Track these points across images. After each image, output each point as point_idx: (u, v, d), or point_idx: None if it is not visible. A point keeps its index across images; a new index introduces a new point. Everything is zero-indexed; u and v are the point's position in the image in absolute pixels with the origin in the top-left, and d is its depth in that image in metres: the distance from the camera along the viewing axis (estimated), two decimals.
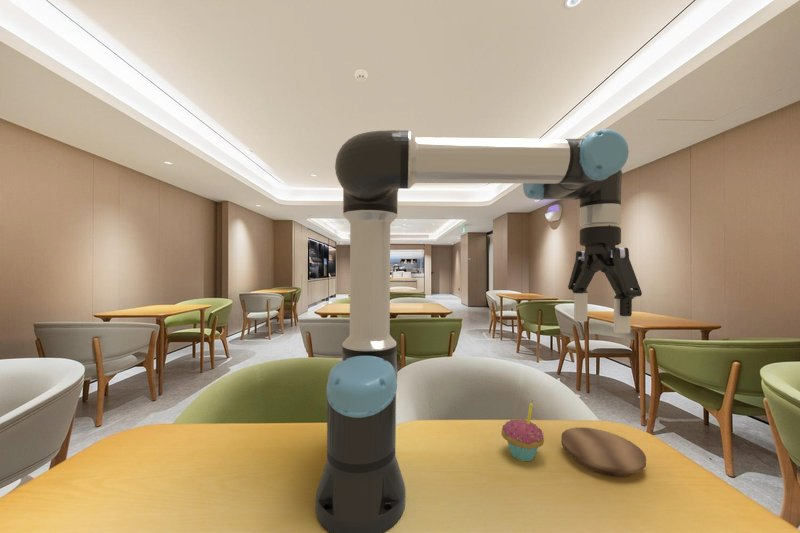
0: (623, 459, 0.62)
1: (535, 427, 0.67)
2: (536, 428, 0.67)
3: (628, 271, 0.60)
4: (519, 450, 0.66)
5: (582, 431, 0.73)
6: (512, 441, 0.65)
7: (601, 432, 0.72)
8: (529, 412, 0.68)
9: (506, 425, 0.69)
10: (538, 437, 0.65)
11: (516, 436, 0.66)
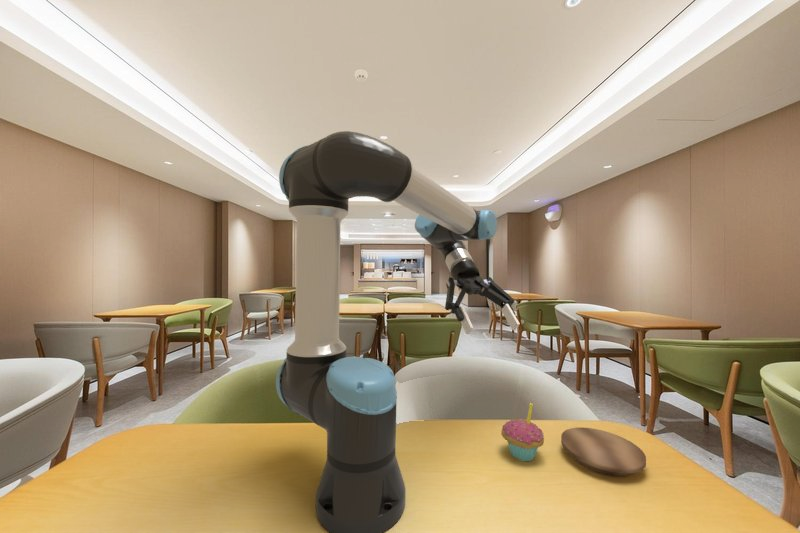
0: (623, 459, 0.62)
1: (535, 427, 0.67)
2: (536, 428, 0.67)
3: None
4: (519, 450, 0.66)
5: (582, 431, 0.73)
6: (512, 441, 0.65)
7: (601, 432, 0.72)
8: (529, 412, 0.68)
9: (506, 425, 0.69)
10: (538, 437, 0.65)
11: (515, 436, 0.66)
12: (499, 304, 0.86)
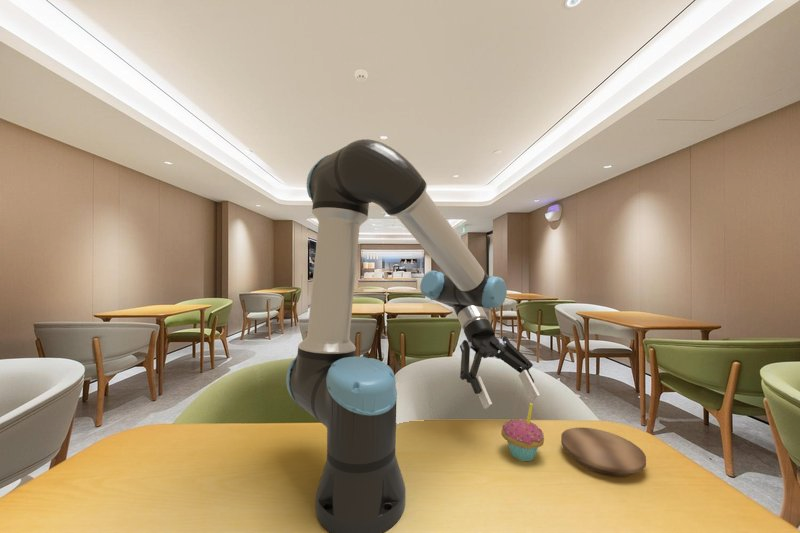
0: (623, 459, 0.62)
1: (535, 427, 0.67)
2: (536, 428, 0.67)
3: None
4: (519, 450, 0.66)
5: (582, 431, 0.73)
6: (512, 441, 0.65)
7: (601, 432, 0.72)
8: (529, 412, 0.68)
9: (506, 425, 0.69)
10: (538, 437, 0.65)
11: (515, 436, 0.66)
12: (516, 368, 0.81)
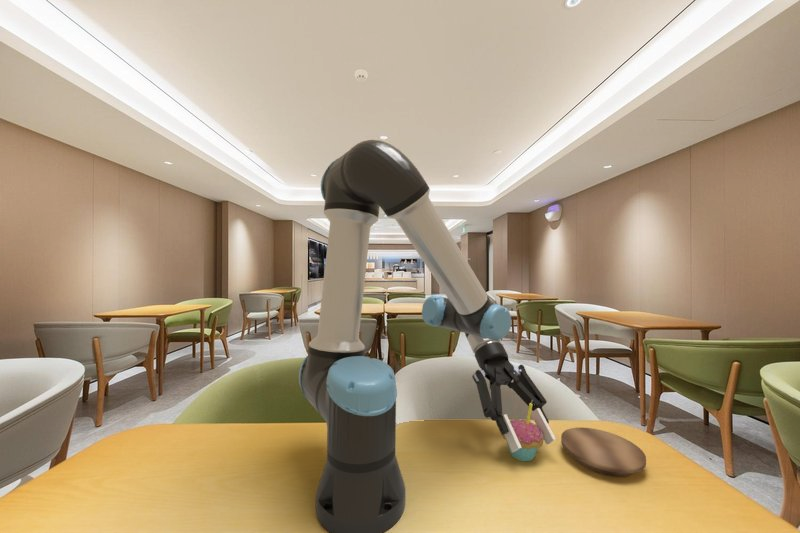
0: (623, 459, 0.62)
1: (535, 427, 0.67)
2: (536, 428, 0.67)
3: None
4: (519, 450, 0.66)
5: (582, 431, 0.73)
6: None
7: (601, 432, 0.72)
8: (529, 412, 0.68)
9: None
10: (537, 437, 0.65)
11: None
12: (528, 404, 0.73)
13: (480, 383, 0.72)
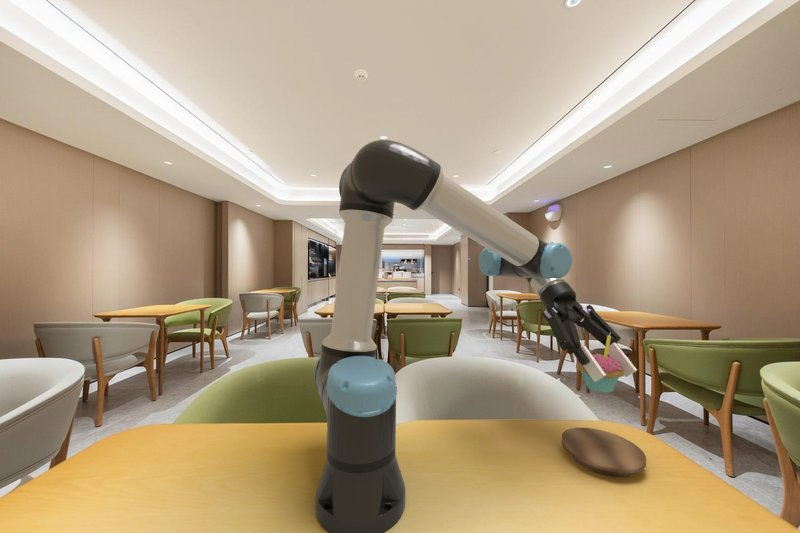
0: (623, 459, 0.62)
1: (614, 359, 0.66)
2: (615, 360, 0.66)
3: None
4: (599, 381, 0.64)
5: (582, 431, 0.73)
6: None
7: (601, 432, 0.72)
8: (607, 344, 0.67)
9: None
10: (619, 367, 0.64)
11: None
12: (601, 340, 0.71)
13: (553, 318, 0.70)
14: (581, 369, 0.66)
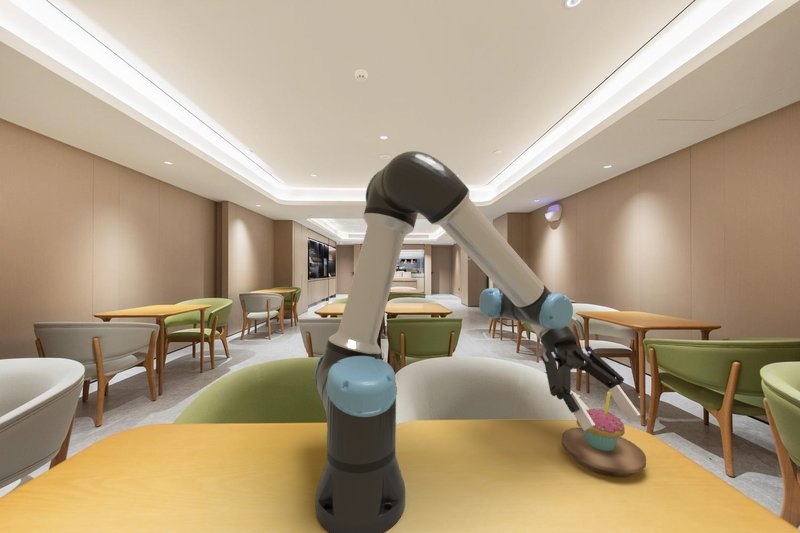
0: (623, 459, 0.62)
1: (614, 416, 0.66)
2: (616, 417, 0.66)
3: None
4: (600, 439, 0.64)
5: (582, 431, 0.73)
6: (593, 430, 0.64)
7: None
8: (607, 401, 0.67)
9: None
10: (620, 426, 0.64)
11: (596, 425, 0.64)
12: (605, 383, 0.72)
13: (549, 362, 0.71)
14: None
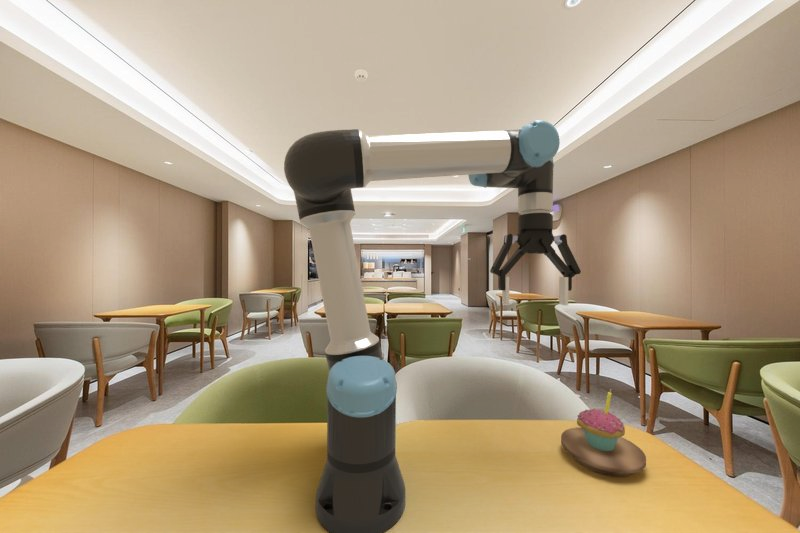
0: (623, 459, 0.62)
1: (614, 416, 0.66)
2: (616, 417, 0.66)
3: None
4: (600, 440, 0.64)
5: (582, 431, 0.73)
6: (593, 431, 0.64)
7: None
8: (607, 401, 0.67)
9: (583, 415, 0.68)
10: (620, 427, 0.64)
11: (596, 425, 0.64)
12: (560, 270, 0.75)
13: (504, 246, 0.74)
14: (582, 426, 0.66)
